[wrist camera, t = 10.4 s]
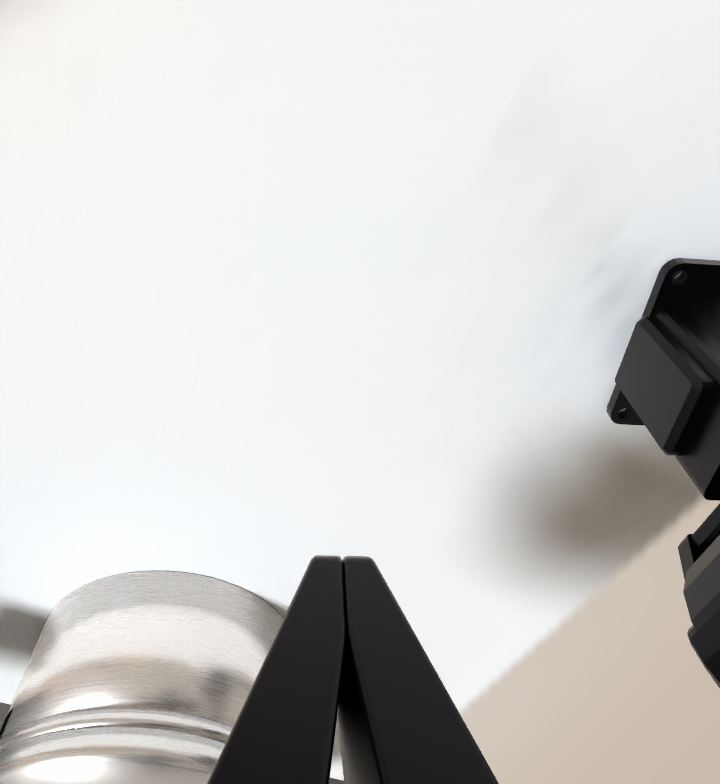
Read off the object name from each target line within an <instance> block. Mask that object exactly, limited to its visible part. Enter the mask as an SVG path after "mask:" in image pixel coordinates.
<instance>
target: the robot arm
mask: <svg viewBox="0 0 720 784" xmlns="http://www.w3.org/2000/svg"><path fill="white" fill-rule="evenodd" d="M680 270H682V273H681V274H680V276H679V277H677V278H676V279H672V276H673V275H674V273H676V272H677V271H680ZM615 382H616V385H615V388H614V391H613V393H612V396H611V398H610V401H609V404H608V406H607V413H608V415H609V417H610V418H611V420H612V421H613V422H614V423H617V424H627V425H645V426H646V427H647V429H648V430H649V432H650V433H651V435H652V436H653V438H654V439H655V441H656V442H657V443H658V445H659V446H660V448H661V449H662V451H663V452H664V453H665V454H666V455H675V456H676V458H677V459H678V461H679V462H680V464H681V465H682V466H683V468H684V469H685V471H686V472H687V473H688V475H689V476H690V478H691V479H692V481H693V482H694V483H695V485H696V486H697V488H698V489H699V490H700V492H701V493H702V495H703V496H704V498H705V499H707V500H720V261H715V260H700V259H686V258H676V259H672V260H670V261H668V262H667V263H666V264H664V265H663V266H662V268H661V270H660V271H659V274H658V277H657V279H656V282H655V284H654V287H653V290H652V292H651V295H650V297H649V300H648V303H647V305H646V308H645V310H644V313H643V315H642V318H641V319H640V320H639V321H638V322H637V323H636V326H635V328H634V331H633V334H632V336H631V339H630V341H629V344H628V347H627V349H626V352H625V354H624V357H623V360H622V362H621V365H620V367H619V370H618V373H617V375H616V378H615ZM623 408H626V409H625V410H624V411H623V412H620V413H618V412H619V410H621V409H623ZM678 549H679V554H680V559H681V564H682V569H683V573H684V578H685V585H684V591H683V592H684V596H685V600H686V603H687V607H688V610H689V614H690V617H691V621H692V623H693V626H692V627H691V628H690V629H689V630H688V637H689V640H690V643H691V645H692V647H693V649H694V650H695V652H696V654H697V655H698V657H699V658H700V660H701V662H702V663H703V665H704V667H705V668H706V670H707V671H708V672H709V674H710V675H711V676H712V678H713V679H714V681H715V682H716V683H717V685H718V686H719V688H720V504H719V505H718V506H717V507H716V508H715V510H714V511H713V512H712V513H711V514H710V515H709V516H708V518H707V519H706V520H705V521H704V522H703V524H702V525H701V526H700V527H699V528H698V529H697V531H696V532H695V533H694V534H689V535H687V537H686V538H685V539H684V540H683V541H682V542H681V544H680V545H679V546H678ZM337 712H338V725H339V737H340V746H341V755H342V764H343V774H344V783H345V784H498V782H497V780H496V778H495V776H494V774H493V773H492V771H491V769H490V767H489V765H488V764H487V762H486V760H485V758H484V756H483V755H482V753H481V751H480V749H479V748H478V746H477V744H476V742H475V740H474V739H473V737H472V735H471V733H470V731H469V730H468V728H467V726H466V724H465V723H464V721H463V719H462V717H461V715H460V714H459V712H458V710H457V708H456V706H455V705H454V703H453V701H452V699H451V698H450V696H449V694H448V692H447V690H446V689H445V687H444V685H443V683H442V681H441V680H440V678H439V676H438V674H437V672H436V671H435V669H434V667H433V665H432V664H431V662H430V660H429V658H428V656H427V655H426V653H425V651H424V649H423V647H422V646H421V644H420V642H419V640H418V639H417V637H416V635H415V633H414V631H413V630H412V628H411V626H410V624H409V622H408V621H407V619H406V617H405V615H404V614H403V612H402V610H401V608H400V606H399V605H398V603H397V601H396V599H395V597H394V596H393V594H392V592H391V590H390V589H389V587H388V585H387V583H386V581H385V580H384V578H383V576H382V574H381V572H380V571H379V569H378V567H377V565H376V564H375V562H374V561H373V559H372V558H370V557H365V556H347V557H345V558H344V559H343V560H342V559H341V558H340V557H339V556H320V555H317V556H314V557H313V558H312V559H311V561H310V563H309V565H308V567H307V570H306V572H305V574H304V576H303V578H302V580H301V582H300V585H299V587H298V589H297V591H296V593H295V595H294V597H293V600H292V602H291V604H290V606H289V608H288V610H287V612H286V615H285V617H284V619H283V621H282V623H281V625H280V627H279V630H278V632H277V634H276V636H275V638H274V640H273V643H272V645H271V647H270V649H269V651H268V653H267V655H266V658H265V660H264V662H263V664H262V666H261V668H260V670H259V673H258V675H257V677H256V679H255V681H254V683H253V685H252V688H251V690H250V692H249V694H248V696H247V698H246V700H245V703H244V705H243V707H242V709H241V711H240V713H239V715H238V718H237V720H236V722H235V724H234V726H233V728H232V730H231V733H230V735H229V737H228V739H227V741H226V743H225V745H224V748H223V750H222V752H221V754H220V756H219V758H218V760H217V763H216V765H215V767H214V769H213V771H212V773H211V775H210V778H209V780H208V782H207V784H329V777H330V769H331V761H332V753H333V744H334V736H335V728H336V720H337Z"/></svg>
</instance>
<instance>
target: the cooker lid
mask: <svg viewBox="0 0 720 784" xmlns="http://www.w3.org/2000/svg"><path fill="white" fill-rule="evenodd" d="M224 745H225V743H222V742H219V741H216V740H212V739H209V738H204V737H200V736H196V735H192V734H187V733H181V732H175V731H169V730H160V729H150V728H137V727H98V728H84V729H75V730H67V731H61V732H56V733H50V734H45V735H41V736H38V737H34V738H30V739H27V740H24V741H21V742H19V743H16V744H13V745H11V746H8V747H6V748H4V749H3V750H1V751H0V784H207V782H208V780H209V778H210V775H211V773H212V771H213V769H214V767H215V765H216V763H217V760H218V758H219V756H220V754H221V752H222V750H223V748H224Z"/></svg>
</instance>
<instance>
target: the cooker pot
mask: <svg viewBox="0 0 720 784" xmlns="http://www.w3.org/2000/svg"><path fill="white" fill-rule="evenodd" d="M282 621H283V618H282V616H281V615H280V614H279V613H278V612H277V611H276V610H275V609H274V608H272V607H271V606H270V605H269V604H267V603H266V602H265V601H264V600H262V599H260V598H259V597H257V596H255V595H254V594H252V593H250V592H248V591H246V590H244V589H242V588H240V587H238V586H235V585H233V584H230V583H227V582H224V581H222V580H218V579H214V578H210V577H207V576H202V575H197V574H191V573H184V572H173V571H141V572H130V573H124V574H118V575H113V576H110V577H106V578H102V579H99V580H96V581H94V582H91V583H89V584H86V585H84V586H82V587H80V588H78V589H76V590H75V591H73V592H71V593H70V594H69V595H67V596H66V597H65V598H63V599H62V600H61V601H60V602H59V603H58V604H57V605H56V606H55V607H54V608H53V610H52V611H51V613H50V615H49V616H48V618H47V620H46V623H45V625H44V627H43V630H42V632H41V634H40V637H39V639H38V641H37V644H36V646H35V648H34V651H33V653H32V656H31V658H30V660H29V663H28V665H27V667H26V670H25V672H24V674H23V677H22V679H21V681H20V684H19V686H18V688H17V691H16V693H15V695H14V698H13V700H12V703H11V705H9V704H5V703H0V751H1V750H3V749H4V748H6V747H8V746H11V745H13V744H16V743H19V742H21V741H24V740H27V739H30V738H34V737H38V736H41V735H45V734H50V733H56V732H61V731H67V730H75V729H84V728H98V727H137V728H150V729H160V730H169V731H175V732H181V733H187V734H192V735H196V736H200V737H204V738H209V739H212V740H216V741H219V742H222V743H226V741H227V739H228V737H229V735H230V733H231V730H232V728H233V726H234V724H235V722H236V720H237V718H238V715H239V713H240V711H241V709H242V707H243V705H244V703H245V700H246V698H247V696H248V694H249V692H250V690H251V688H252V685H253V683H254V681H255V679H256V677H257V675H258V673H259V670H260V668H261V666H262V664H263V662H264V660H265V658H266V655H267V653H268V651H269V649H270V647H271V645H272V643H273V640H274V638H275V636H276V634H277V632H278V630H279V627H280V625H281V623H282ZM329 784H345V783H344V781H342V780H337V779H333V778H329Z"/></svg>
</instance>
